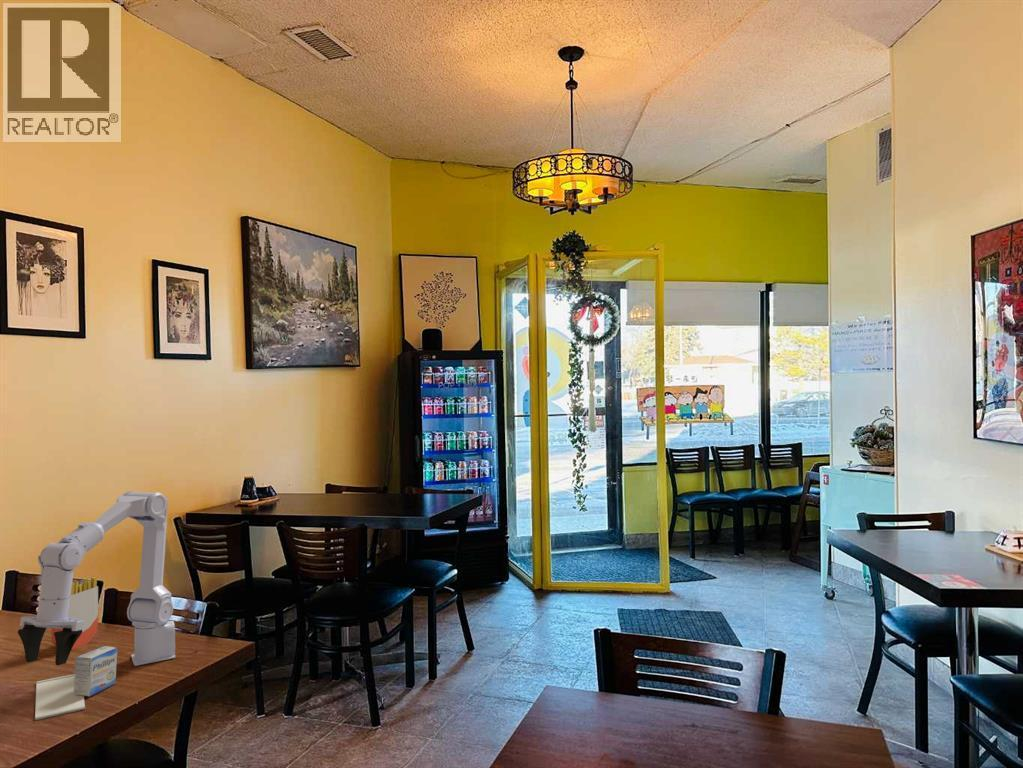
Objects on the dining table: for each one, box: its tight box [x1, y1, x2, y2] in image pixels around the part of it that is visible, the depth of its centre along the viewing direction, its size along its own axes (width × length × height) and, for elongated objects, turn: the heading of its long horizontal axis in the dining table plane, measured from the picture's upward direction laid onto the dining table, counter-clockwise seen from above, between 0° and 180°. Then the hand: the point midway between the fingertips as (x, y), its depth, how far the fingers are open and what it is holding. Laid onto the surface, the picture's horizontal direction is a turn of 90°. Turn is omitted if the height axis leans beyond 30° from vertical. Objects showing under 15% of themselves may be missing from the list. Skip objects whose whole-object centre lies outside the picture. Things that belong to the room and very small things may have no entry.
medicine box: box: [74, 645, 118, 697], centre depth 158 cm, size 8×4×9 cm, turn 169°
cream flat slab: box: [34, 673, 86, 721], centre depth 155 cm, size 9×22×1 cm, turn 34°
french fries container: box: [50, 576, 99, 651], centre depth 186 cm, size 5×11×18 cm, turn 166°
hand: (46, 662), depth 148 cm, fingers open, 7 cm apart
